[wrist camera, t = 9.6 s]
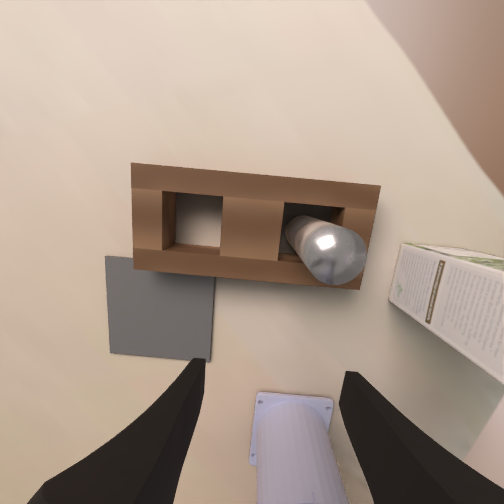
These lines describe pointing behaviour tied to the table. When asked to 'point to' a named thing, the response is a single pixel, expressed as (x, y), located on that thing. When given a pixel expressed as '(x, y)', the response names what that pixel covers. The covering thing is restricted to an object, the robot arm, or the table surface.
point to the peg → (327, 249)
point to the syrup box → (455, 299)
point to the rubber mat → (158, 312)
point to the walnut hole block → (239, 222)
